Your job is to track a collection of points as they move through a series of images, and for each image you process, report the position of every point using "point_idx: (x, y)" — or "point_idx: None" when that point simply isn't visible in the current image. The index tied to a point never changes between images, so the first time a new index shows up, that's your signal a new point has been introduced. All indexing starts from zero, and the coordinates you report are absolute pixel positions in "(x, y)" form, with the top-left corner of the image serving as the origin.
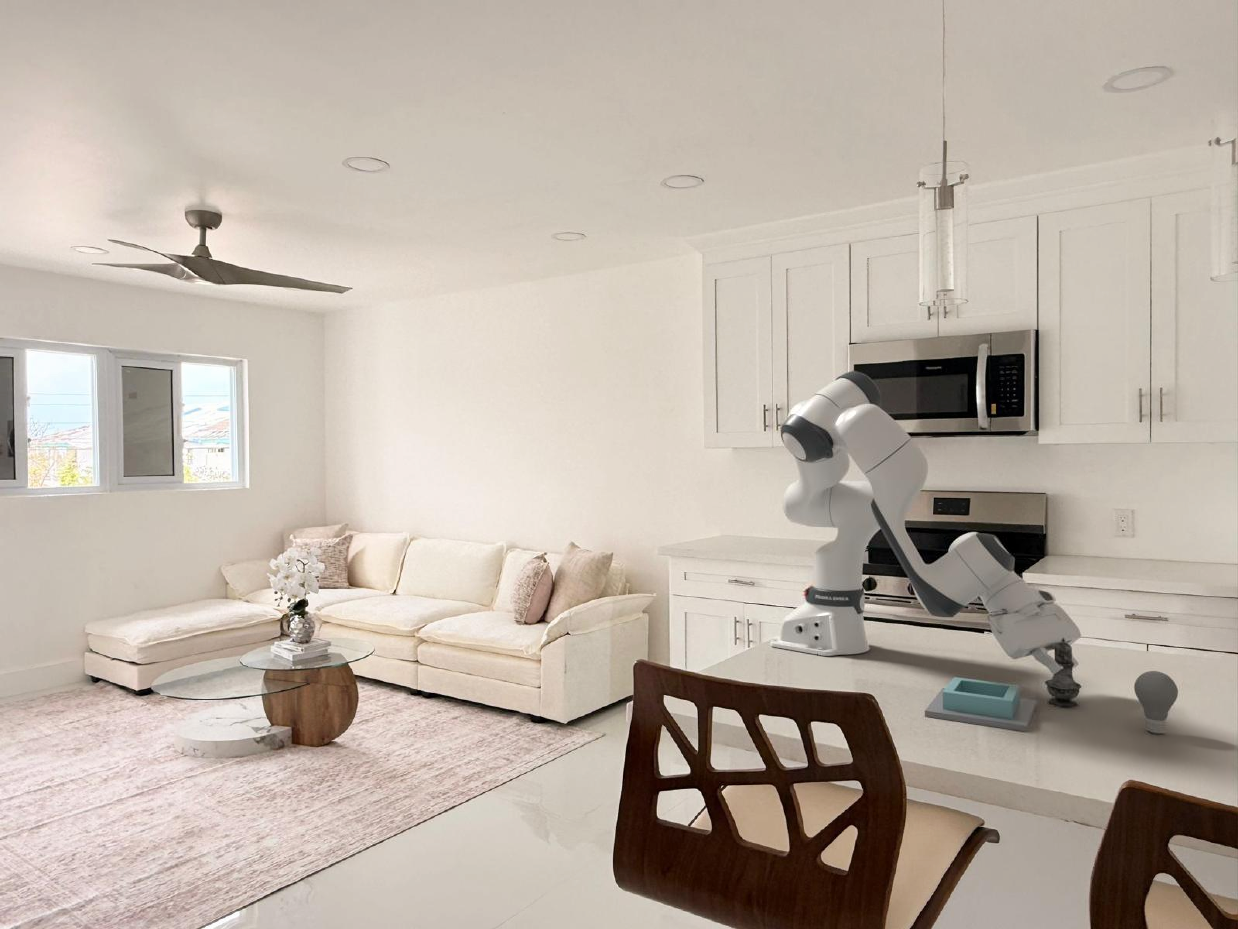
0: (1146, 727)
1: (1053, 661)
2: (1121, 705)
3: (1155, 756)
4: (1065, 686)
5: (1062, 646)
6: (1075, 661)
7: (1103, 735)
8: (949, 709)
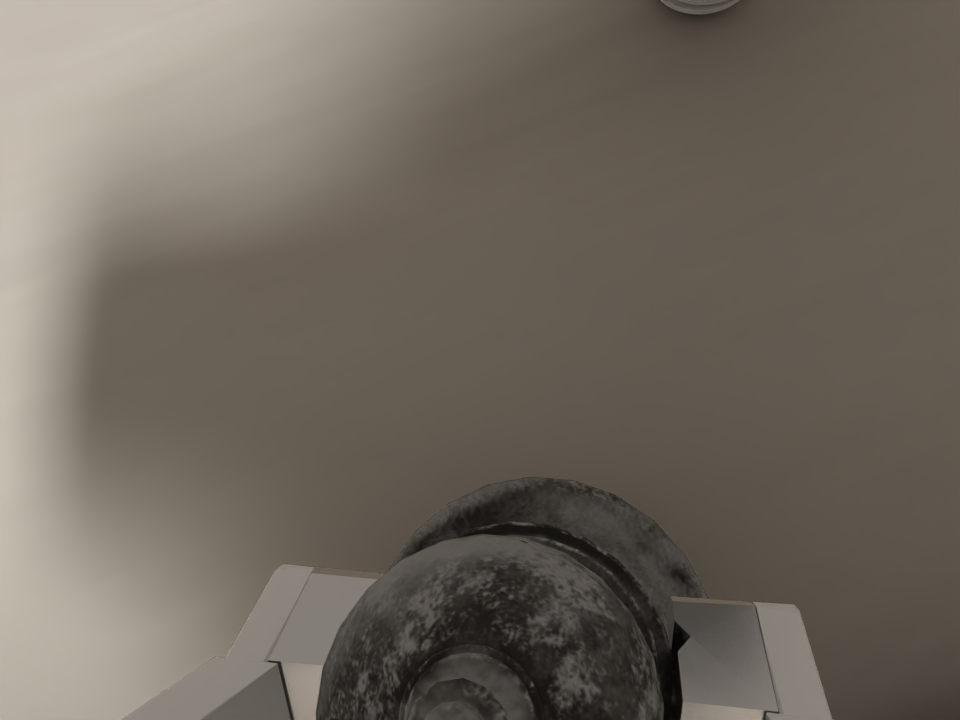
0: (721, 4)
1: (826, 714)
2: (254, 345)
3: None
4: (657, 570)
5: (630, 661)
6: (307, 585)
7: None
8: None
